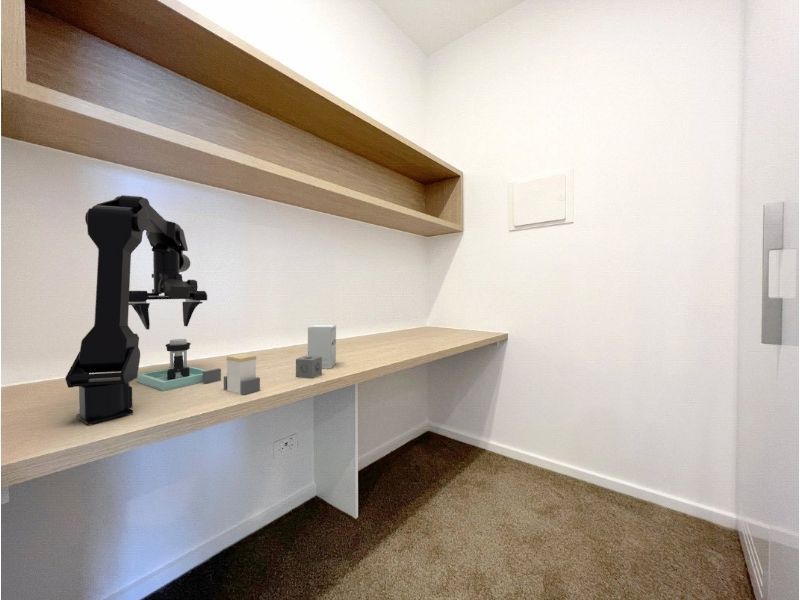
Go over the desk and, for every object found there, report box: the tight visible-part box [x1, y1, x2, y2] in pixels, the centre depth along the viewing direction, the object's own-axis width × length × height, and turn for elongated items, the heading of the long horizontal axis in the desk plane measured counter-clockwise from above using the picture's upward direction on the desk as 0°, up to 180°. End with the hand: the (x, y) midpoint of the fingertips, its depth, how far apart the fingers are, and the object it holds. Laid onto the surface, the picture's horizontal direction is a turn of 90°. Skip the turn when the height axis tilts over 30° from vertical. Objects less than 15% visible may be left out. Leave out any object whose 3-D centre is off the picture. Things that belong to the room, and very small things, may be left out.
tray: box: [137, 365, 207, 392], centre depth 84 cm, size 12×14×2 cm
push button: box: [159, 338, 192, 380], centre depth 84 cm, size 7×5×10 cm
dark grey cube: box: [295, 355, 323, 380], centre depth 90 cm, size 5×5×5 cm
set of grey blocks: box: [202, 367, 261, 396], centre depth 79 cm, size 4×17×3 cm, turn 58°
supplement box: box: [307, 324, 337, 370], centre depth 102 cm, size 7×7×13 cm
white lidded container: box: [226, 353, 257, 395], centre depth 77 cm, size 4×5×8 cm
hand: (167, 327), depth 89 cm, fingers open, 9 cm apart
